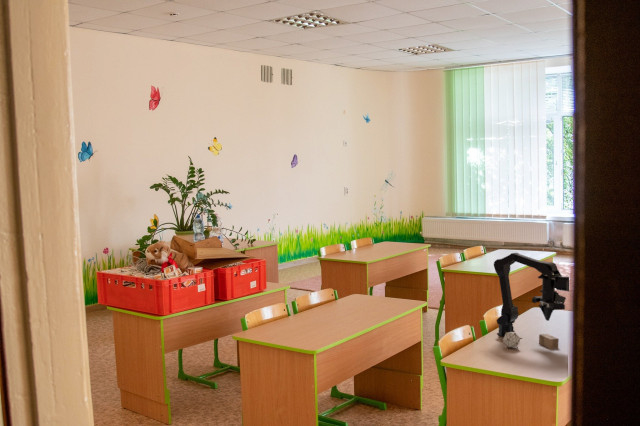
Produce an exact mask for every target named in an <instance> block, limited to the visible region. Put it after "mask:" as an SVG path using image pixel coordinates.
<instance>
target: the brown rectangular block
mask: <svg viewBox="0 0 640 426" xmlns="http://www.w3.org/2000/svg"><path fill="white" fill-rule="evenodd" d="M559 342H560V341H559V338H557V337H555V336H553V335H551V334H549V333H539V335H538V343H539V344H540V345H542V346H544V347H545V348H548V349H558V348H559Z"/></svg>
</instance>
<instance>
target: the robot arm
mask: <svg viewBox="0 0 640 426" xmlns="http://www.w3.org/2000/svg"><path fill="white" fill-rule="evenodd" d="M514 263H518V264H521V265H524V266H527V267H529V268H533V269H535V270H536V271H537V272H539V273H540V275H539V276H538V277H537V278H538V279H541V286H542V287H541V289H540V290H539V292H540V293H541V295H539V296H532V298H531V302H532V303H534V304H537V303H539V304H538V307H539V309H540V310H541V312H542V314H543V317H544V319H545V321H547V322H548V321H550V318H551V316H552V314H553V312H554V311H557V310H558V311H559V310H561V311H562V310H565V309H566V305H565V303H566V299H567V297H566V296H564V295H563V296H562V295H560V294H559V292H557V291H563V292H570V291H569V277H570V276H562V274H561V273H560V270H559V269H558V266H557V264H556V263H555V262H552V261H548V260H547V261H545V260H538V259H535V258H532V257H529V256H526V255H523V254H520V253H518V252H512V253H510V254H508V255H507V256H506V255H505V256H504V257H502V258H498V259H496V260H494V261H493V267H494V270H495V273H496V274H497V276H498V280H499V287H500V294H501V302H502V307H501V309H500V316H499V317H498V318H497V319H496V324H497V325H498V332H497V333H496V335H498V336H500V337H502V338H504V336H505V334H506V333H505V331H506V332H513V331H514V324H515V322H516V320H517V319H518V317H519V315H520V313H519V308H518V306H515V304H514V301H513V297H512V290H511V284H510V283H511V282H510V276H509V275H510V272H511V266H512V265H513V264H514Z"/></svg>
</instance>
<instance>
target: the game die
mask: <svg viewBox="0 0 640 426" xmlns="http://www.w3.org/2000/svg"><path fill="white" fill-rule="evenodd" d="M505 333H506V334H505V336H504V337H502V340H501V341H500V342H503V343H504V344H505V345H506V346H507V349H508V350H509V349H510V348H517V349H518V348H519V347H518V345H519V343H520V340H522V339H523V338H522V337H520V336H518V334H517V333H516V331H515V330H513V332H506V331H505Z"/></svg>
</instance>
